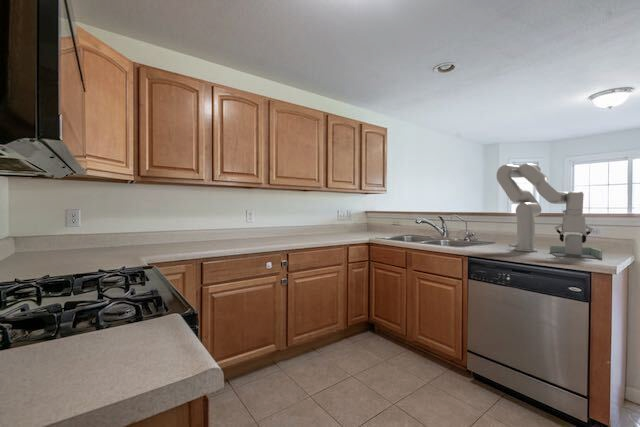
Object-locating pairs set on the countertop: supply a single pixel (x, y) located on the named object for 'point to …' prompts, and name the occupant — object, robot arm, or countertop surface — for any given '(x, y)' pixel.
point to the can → (573, 244)
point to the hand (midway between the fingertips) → (572, 241)
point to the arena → (586, 253)
